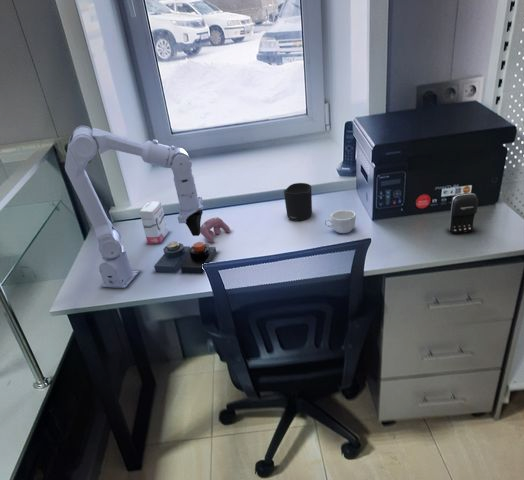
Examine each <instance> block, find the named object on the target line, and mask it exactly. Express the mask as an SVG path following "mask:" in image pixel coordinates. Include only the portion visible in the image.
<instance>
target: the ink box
mask: <svg viewBox="0 0 524 480" xmlns="http://www.w3.org/2000/svg"><path fill="white" fill-rule="evenodd" d="M139 215H140V219H141V223H142V227H143V230H144V235H145V237H146V243H147V244H149V245H150V244H161V243H162V242H163V240H164V239H165V237H166V236H167V235H168V234H169V230H168V226H167V222H166V218H165V214H164V209H163V205H162V201H155V200H154V201H153V200H152V201H148V202H147V203H146V204H145V205H144V206H143V207H142V208H141V209H140V210H139Z"/></svg>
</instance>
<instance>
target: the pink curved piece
mask: <svg viewBox="0 0 524 480" xmlns="http://www.w3.org/2000/svg"><path fill="white" fill-rule="evenodd" d="M221 229H222V230H223V231H224V232H226V233H230V232H231V228H230V227H229V225H228V224H227V223H226V222H225V221H224V220H223V219H222V218H220V217H218V216H216V217H212V218H209V219H207V220H206V221H204V222H203V223H202V224H201V225H200V235H201V236H203V238H204V239H205V240H206V241H207V242H209V243H214V240H215V239H214V237H215V235H219V234H220V233H221Z"/></svg>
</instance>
